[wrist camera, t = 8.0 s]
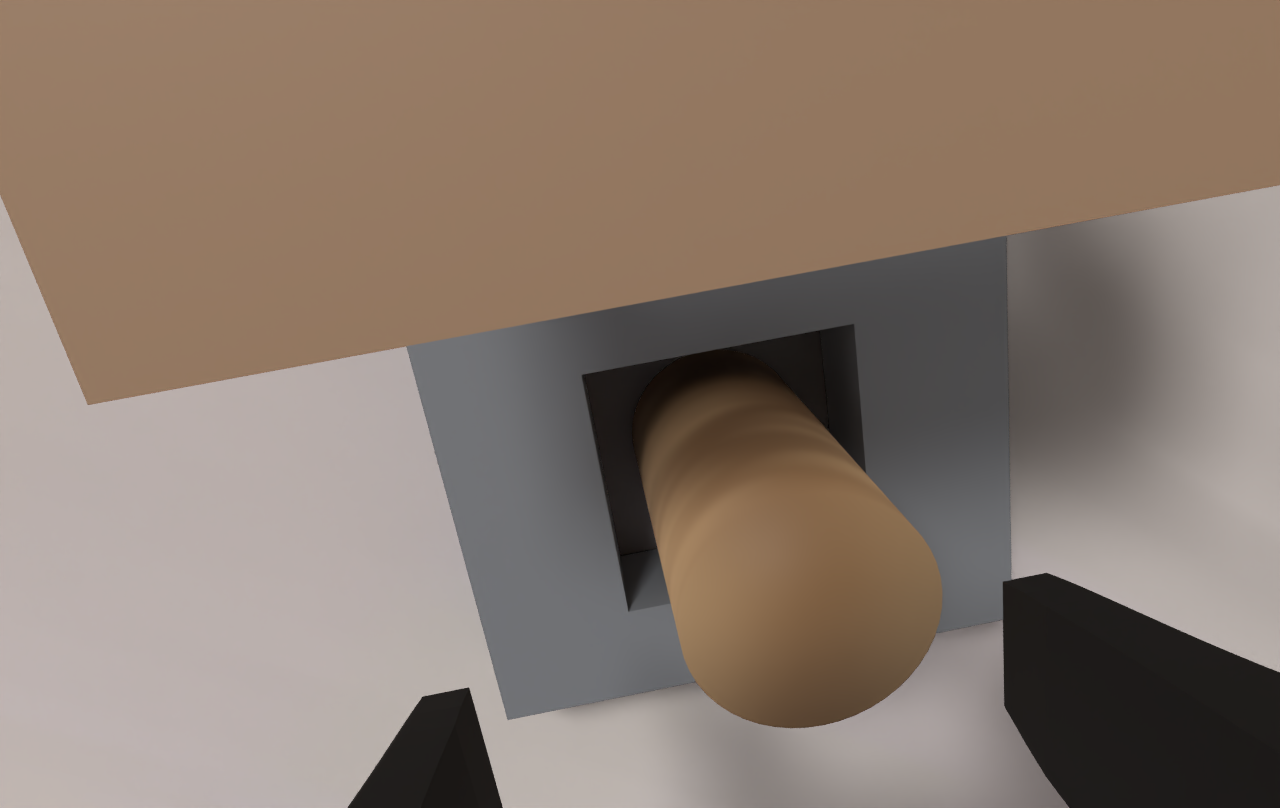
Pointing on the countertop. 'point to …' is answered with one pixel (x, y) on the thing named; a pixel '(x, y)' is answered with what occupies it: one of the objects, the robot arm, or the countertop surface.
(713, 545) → the peg
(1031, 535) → the countertop surface
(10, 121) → the socket plate
